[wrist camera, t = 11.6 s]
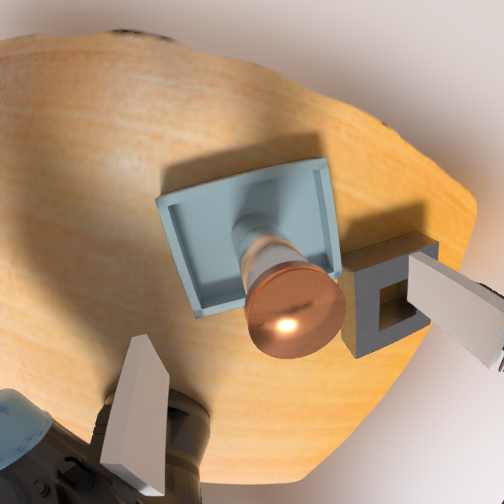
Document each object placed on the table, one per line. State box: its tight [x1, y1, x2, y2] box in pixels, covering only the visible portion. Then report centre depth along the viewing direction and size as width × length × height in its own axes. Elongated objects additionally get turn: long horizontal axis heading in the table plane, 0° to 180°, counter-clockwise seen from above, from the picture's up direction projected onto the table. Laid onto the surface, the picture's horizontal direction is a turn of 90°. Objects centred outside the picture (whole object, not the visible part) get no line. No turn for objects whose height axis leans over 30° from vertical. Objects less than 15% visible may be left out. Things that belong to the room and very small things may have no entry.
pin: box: [231, 213, 346, 359], centre depth 18 cm, size 5×5×13 cm
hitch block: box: [338, 231, 439, 359], centre depth 27 cm, size 11×11×4 cm
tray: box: [155, 157, 342, 318], centre depth 24 cm, size 14×11×2 cm
